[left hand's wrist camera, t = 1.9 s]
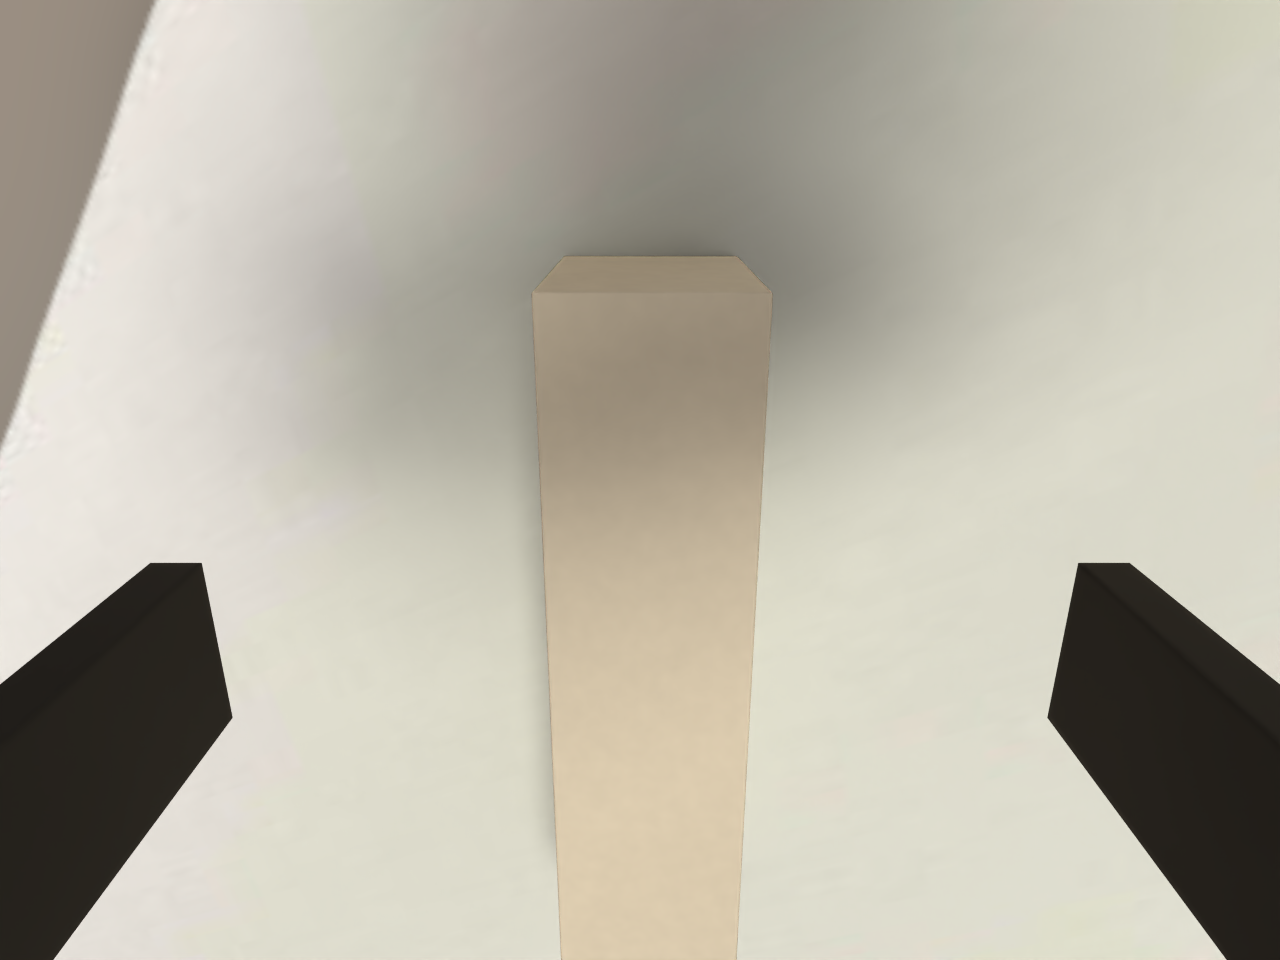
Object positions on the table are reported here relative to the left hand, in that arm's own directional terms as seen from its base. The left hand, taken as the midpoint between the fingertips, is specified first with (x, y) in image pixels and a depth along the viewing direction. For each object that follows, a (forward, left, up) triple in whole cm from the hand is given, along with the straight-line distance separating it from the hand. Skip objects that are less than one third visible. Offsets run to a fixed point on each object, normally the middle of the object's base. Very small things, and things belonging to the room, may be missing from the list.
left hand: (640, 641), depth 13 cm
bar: (+7, +5, -18) cm, 20 cm away
